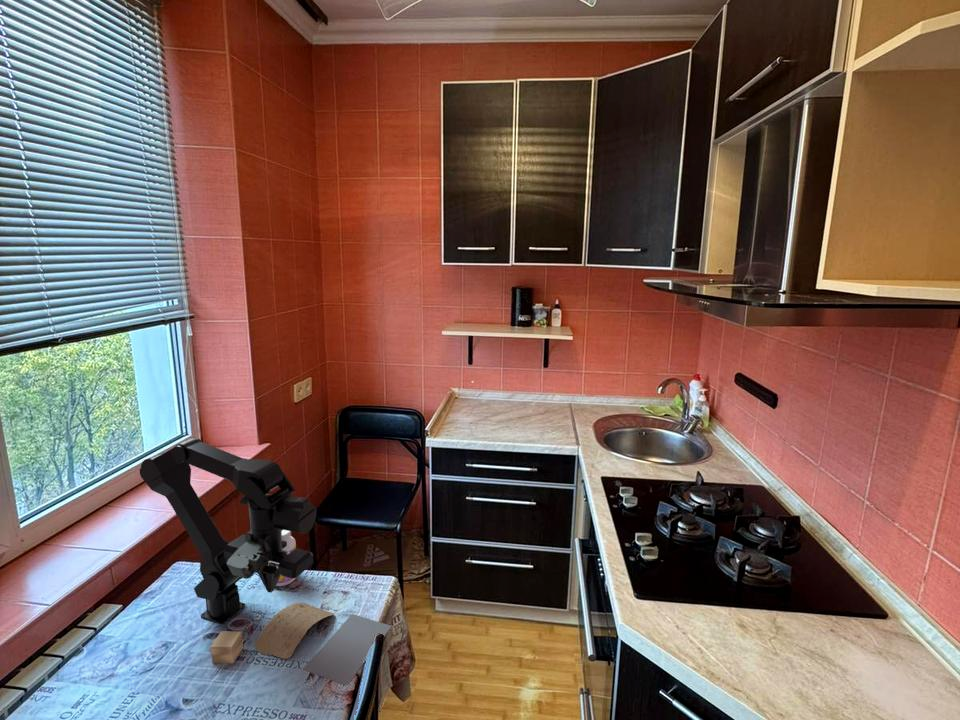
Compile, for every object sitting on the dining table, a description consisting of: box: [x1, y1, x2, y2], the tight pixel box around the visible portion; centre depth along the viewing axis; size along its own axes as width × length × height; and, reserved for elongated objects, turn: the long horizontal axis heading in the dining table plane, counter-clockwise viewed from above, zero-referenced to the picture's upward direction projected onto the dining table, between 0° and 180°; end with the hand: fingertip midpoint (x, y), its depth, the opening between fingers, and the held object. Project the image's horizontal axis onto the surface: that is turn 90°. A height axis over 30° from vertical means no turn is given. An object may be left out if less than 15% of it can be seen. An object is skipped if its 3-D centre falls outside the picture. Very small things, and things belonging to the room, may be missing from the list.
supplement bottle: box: [276, 530, 297, 587], centre depth 119 cm, size 7×7×13 cm
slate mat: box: [302, 613, 393, 686], centre depth 99 cm, size 10×16×1 cm, turn 160°
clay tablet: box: [253, 602, 335, 659], centre depth 103 cm, size 14×10×3 cm
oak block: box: [210, 630, 244, 664], centre depth 96 cm, size 4×4×4 cm
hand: (271, 591), depth 103 cm, fingers closed
